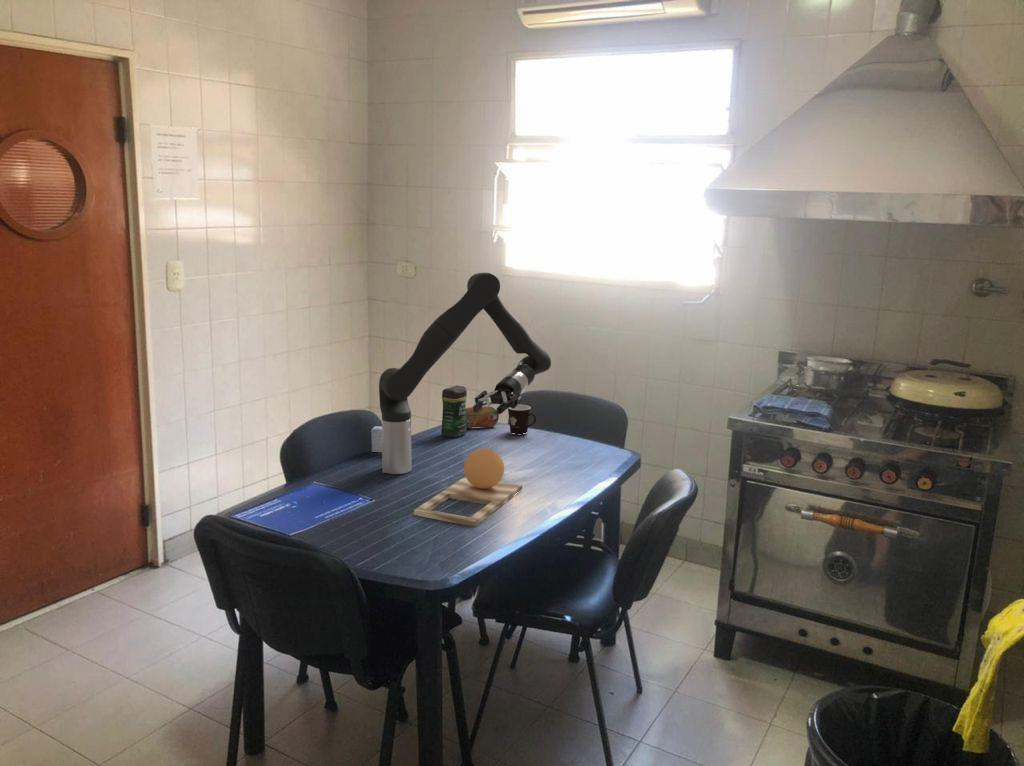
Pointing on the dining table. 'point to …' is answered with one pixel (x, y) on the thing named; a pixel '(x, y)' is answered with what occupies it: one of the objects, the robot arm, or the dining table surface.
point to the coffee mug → (520, 419)
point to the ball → (484, 468)
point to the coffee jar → (454, 411)
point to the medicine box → (377, 439)
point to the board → (472, 494)
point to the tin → (481, 417)
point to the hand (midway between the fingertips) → (486, 410)
